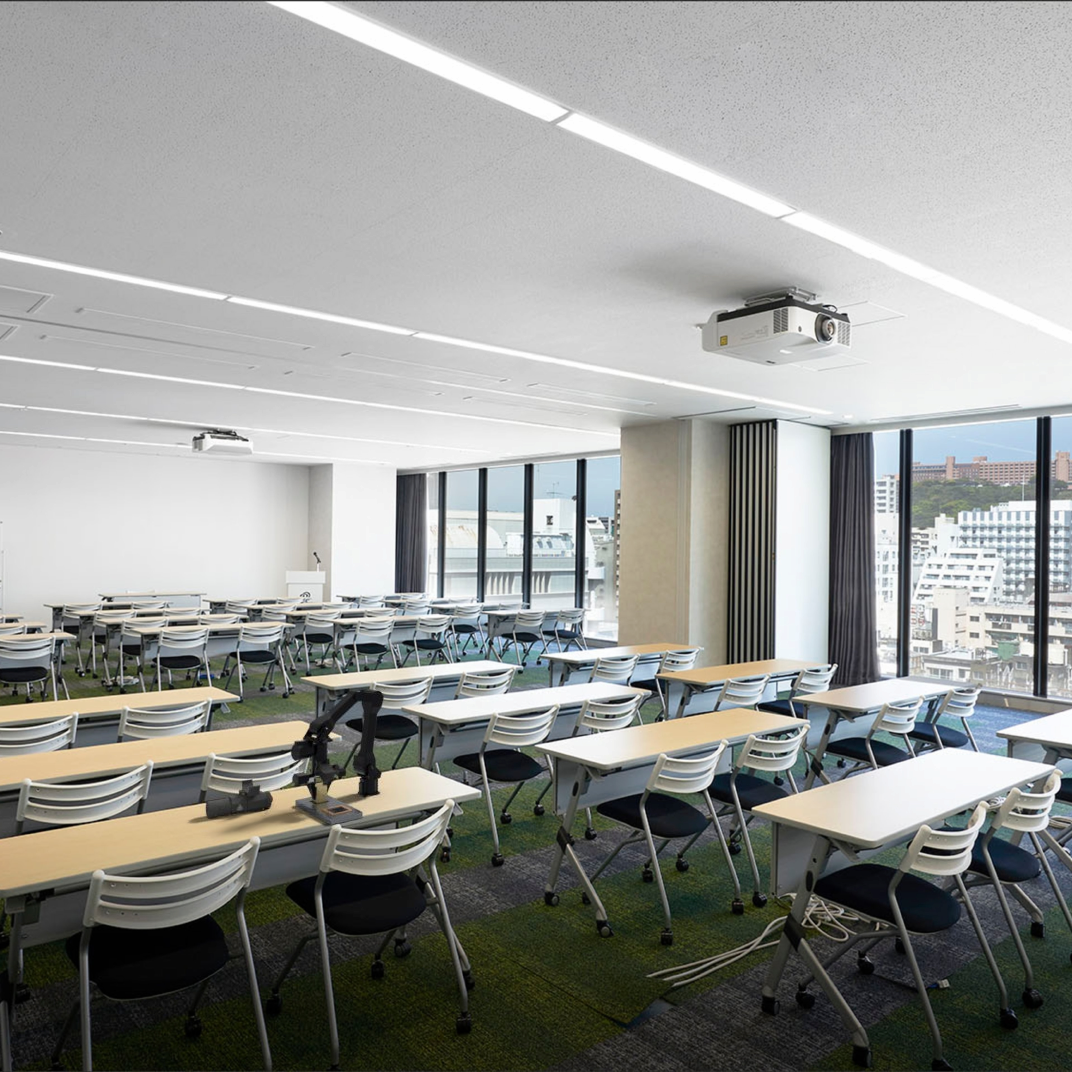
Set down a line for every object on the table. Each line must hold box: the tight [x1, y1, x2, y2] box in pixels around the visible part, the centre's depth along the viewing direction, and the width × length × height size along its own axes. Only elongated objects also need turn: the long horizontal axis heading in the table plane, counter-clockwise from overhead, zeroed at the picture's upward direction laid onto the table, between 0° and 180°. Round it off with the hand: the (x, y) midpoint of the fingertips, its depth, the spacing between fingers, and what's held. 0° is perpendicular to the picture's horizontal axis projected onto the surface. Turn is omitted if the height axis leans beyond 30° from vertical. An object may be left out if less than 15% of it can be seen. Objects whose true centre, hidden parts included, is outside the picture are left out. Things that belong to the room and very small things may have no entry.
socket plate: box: [294, 794, 364, 826], centre depth 302 cm, size 12×28×2 cm, turn 41°
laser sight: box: [205, 778, 274, 819], centre depth 301 cm, size 10×22×10 cm, turn 125°
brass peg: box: [312, 782, 328, 805], centre depth 308 cm, size 4×4×8 cm
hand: (319, 798), depth 308 cm, fingers closed on brass peg, 4 cm apart
